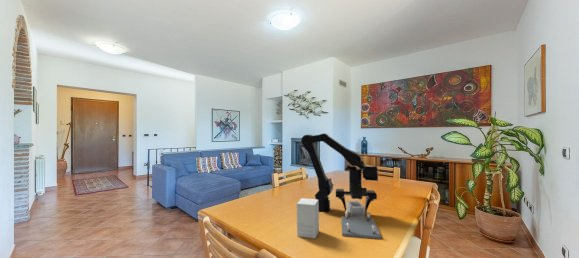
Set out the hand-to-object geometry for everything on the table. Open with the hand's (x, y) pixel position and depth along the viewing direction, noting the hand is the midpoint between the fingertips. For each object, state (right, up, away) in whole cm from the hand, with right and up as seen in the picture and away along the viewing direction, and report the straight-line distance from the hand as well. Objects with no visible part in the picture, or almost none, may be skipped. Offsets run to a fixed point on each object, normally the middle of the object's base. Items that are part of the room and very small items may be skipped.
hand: (355, 211), depth 108 cm
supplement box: (-25, -1, -21) cm, 32 cm away
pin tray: (-3, -1, -16) cm, 16 cm away
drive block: (0, -1, 0) cm, 1 cm away
